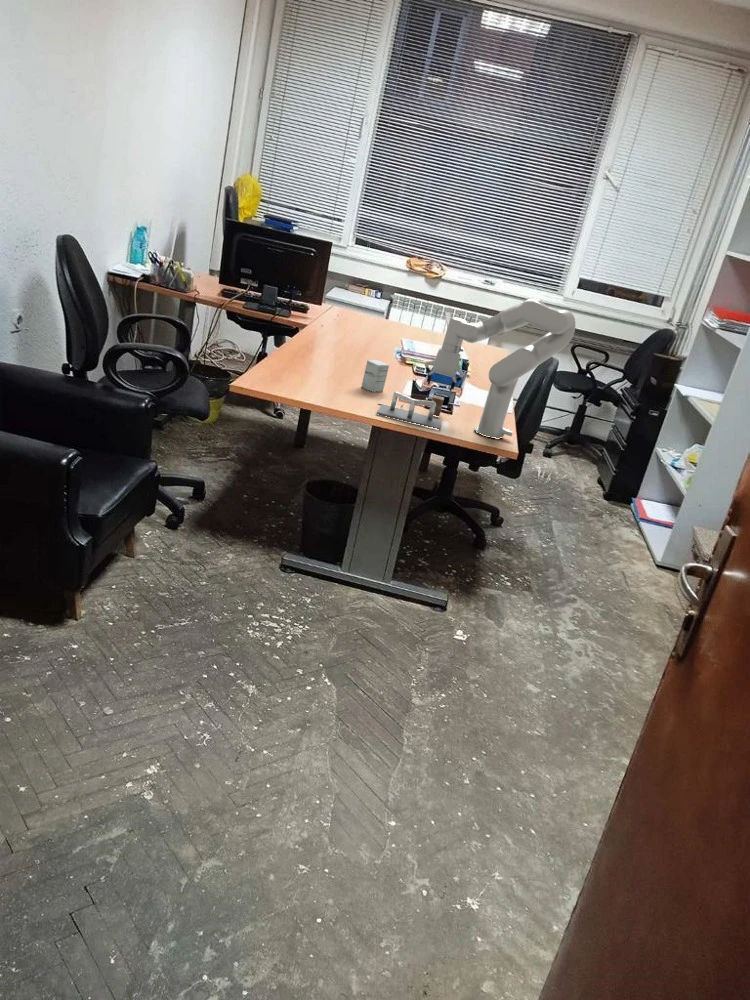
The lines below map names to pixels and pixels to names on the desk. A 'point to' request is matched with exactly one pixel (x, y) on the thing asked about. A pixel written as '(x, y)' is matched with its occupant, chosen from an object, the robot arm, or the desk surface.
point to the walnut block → (438, 404)
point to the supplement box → (375, 375)
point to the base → (415, 418)
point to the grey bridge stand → (413, 404)
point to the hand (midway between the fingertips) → (439, 387)
